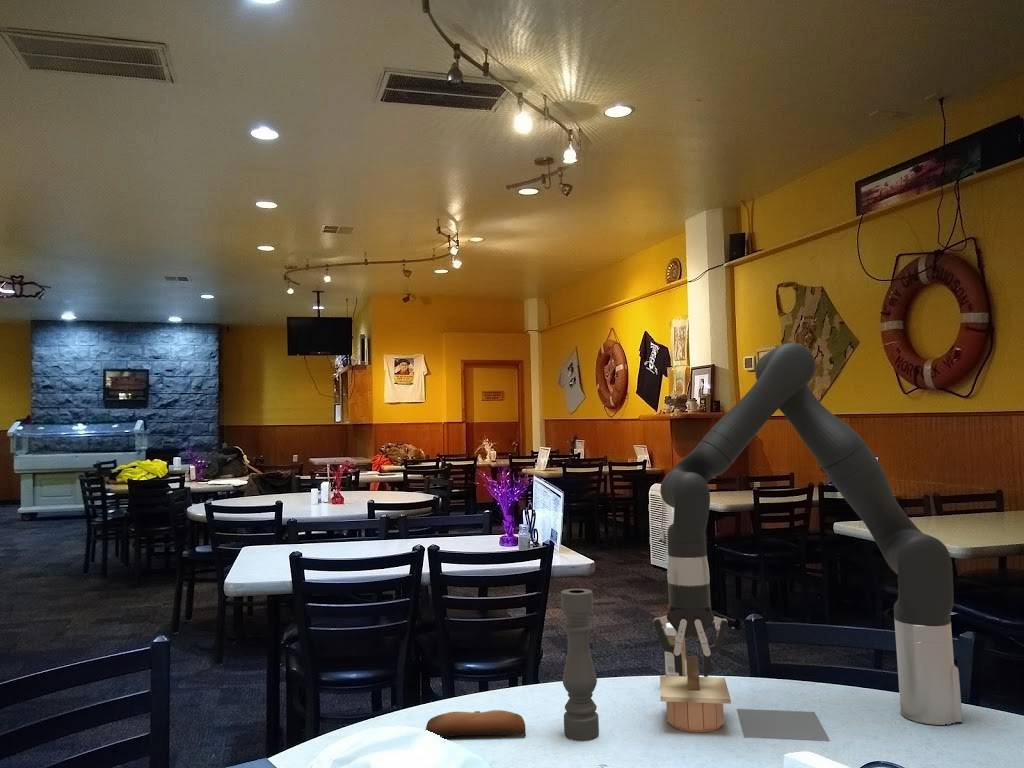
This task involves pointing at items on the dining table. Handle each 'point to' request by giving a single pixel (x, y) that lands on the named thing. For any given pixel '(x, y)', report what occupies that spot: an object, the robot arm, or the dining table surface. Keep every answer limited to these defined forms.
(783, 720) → the rubber mat
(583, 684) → the candle holder
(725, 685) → the birch cover
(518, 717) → the sunglasses case
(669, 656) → the sprinkles bottle
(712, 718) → the wooden bowl
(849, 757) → the dining table surface
